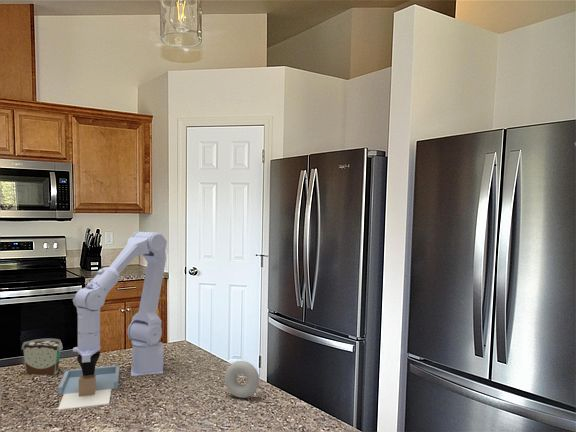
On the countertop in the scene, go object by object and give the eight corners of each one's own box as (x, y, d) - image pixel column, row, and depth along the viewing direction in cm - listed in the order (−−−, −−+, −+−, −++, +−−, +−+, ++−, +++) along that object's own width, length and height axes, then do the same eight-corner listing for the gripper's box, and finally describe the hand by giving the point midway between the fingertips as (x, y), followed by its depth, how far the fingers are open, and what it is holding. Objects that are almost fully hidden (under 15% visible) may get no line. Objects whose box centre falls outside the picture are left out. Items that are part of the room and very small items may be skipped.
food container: (71, 370, 144) (71, 338, 144) (59, 377, 138) (59, 344, 138) (34, 368, 145) (34, 337, 145) (21, 375, 139) (21, 342, 139)
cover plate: (111, 391, 128) (111, 373, 128) (108, 406, 118) (109, 386, 118) (63, 397, 124) (64, 377, 124) (57, 412, 114) (57, 391, 114)
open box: (119, 373, 142) (119, 365, 142) (117, 390, 129) (117, 381, 129) (65, 378, 137) (65, 370, 137) (58, 396, 124) (58, 387, 124)
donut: (261, 397, 125) (261, 360, 125) (256, 402, 122) (257, 364, 121) (227, 392, 128) (227, 357, 127) (222, 397, 124) (222, 361, 124)
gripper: (76, 326, 132) (76, 372, 133) (69, 339, 119) (69, 391, 119) (102, 324, 135) (102, 370, 135) (98, 337, 121) (98, 388, 121)
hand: (88, 380), depth 127 cm, fingers closed
